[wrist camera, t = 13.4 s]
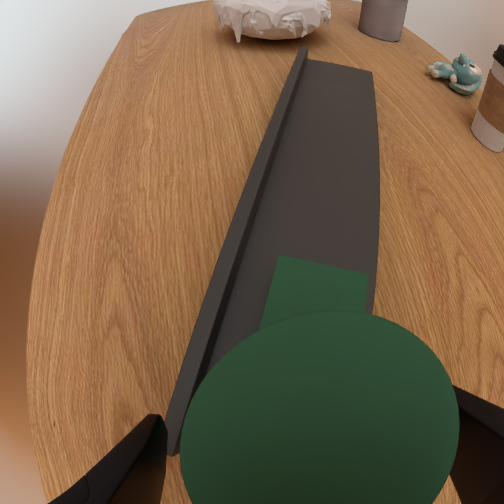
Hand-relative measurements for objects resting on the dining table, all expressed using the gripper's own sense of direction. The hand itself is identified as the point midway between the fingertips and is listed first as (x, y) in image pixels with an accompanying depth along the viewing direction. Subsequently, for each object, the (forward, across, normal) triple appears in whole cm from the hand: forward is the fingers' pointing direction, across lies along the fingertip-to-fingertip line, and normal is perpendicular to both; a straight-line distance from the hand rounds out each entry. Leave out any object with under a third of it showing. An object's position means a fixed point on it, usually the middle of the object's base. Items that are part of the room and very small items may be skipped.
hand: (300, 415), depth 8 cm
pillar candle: (+51, -32, -37) cm, 71 cm away
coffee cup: (+26, -34, -12) cm, 45 cm away
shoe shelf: (+19, -5, -5) cm, 20 cm away
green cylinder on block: (+7, -1, +4) cm, 8 cm away
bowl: (+47, -7, -32) cm, 57 cm away
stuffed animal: (+37, -38, -23) cm, 58 cm away
